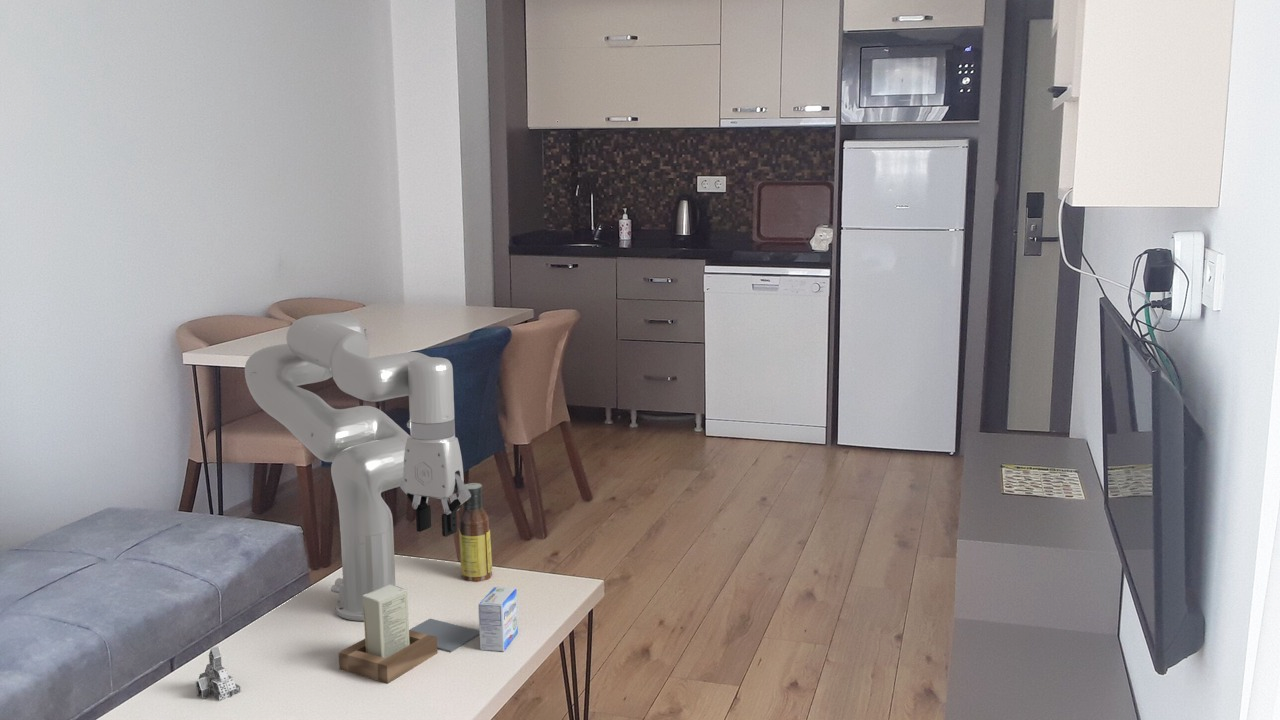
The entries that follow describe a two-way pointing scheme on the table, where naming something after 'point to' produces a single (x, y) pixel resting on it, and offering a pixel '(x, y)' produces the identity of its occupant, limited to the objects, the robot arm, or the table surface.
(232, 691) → the grey toy block stack
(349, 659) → the walnut holder
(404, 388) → the robot arm
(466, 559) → the sauce bottle
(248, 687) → the table surface
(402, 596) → the skincare box
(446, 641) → the charcoal mat
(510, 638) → the medicine box
